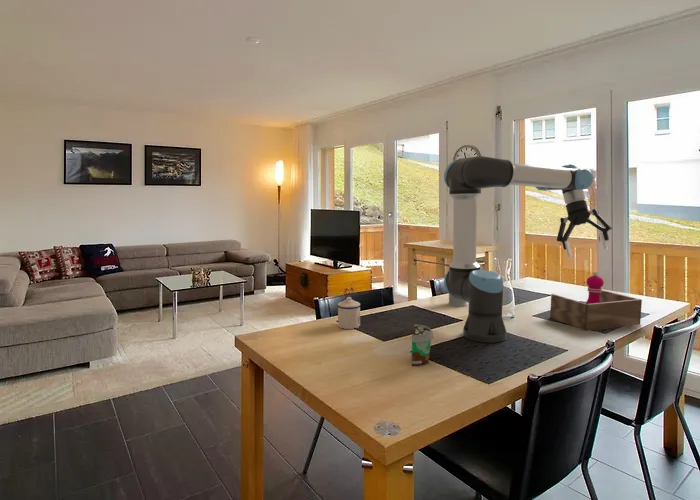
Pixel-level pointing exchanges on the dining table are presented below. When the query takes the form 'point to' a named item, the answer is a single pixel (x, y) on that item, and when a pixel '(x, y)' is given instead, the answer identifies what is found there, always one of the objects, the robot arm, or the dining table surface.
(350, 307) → the teacup with lid
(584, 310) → the open-sided box
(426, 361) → the food container
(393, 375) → the dining table surface
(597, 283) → the pepper mill
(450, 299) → the grey cylinder
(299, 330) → the dining table surface
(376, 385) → the dining table surface
